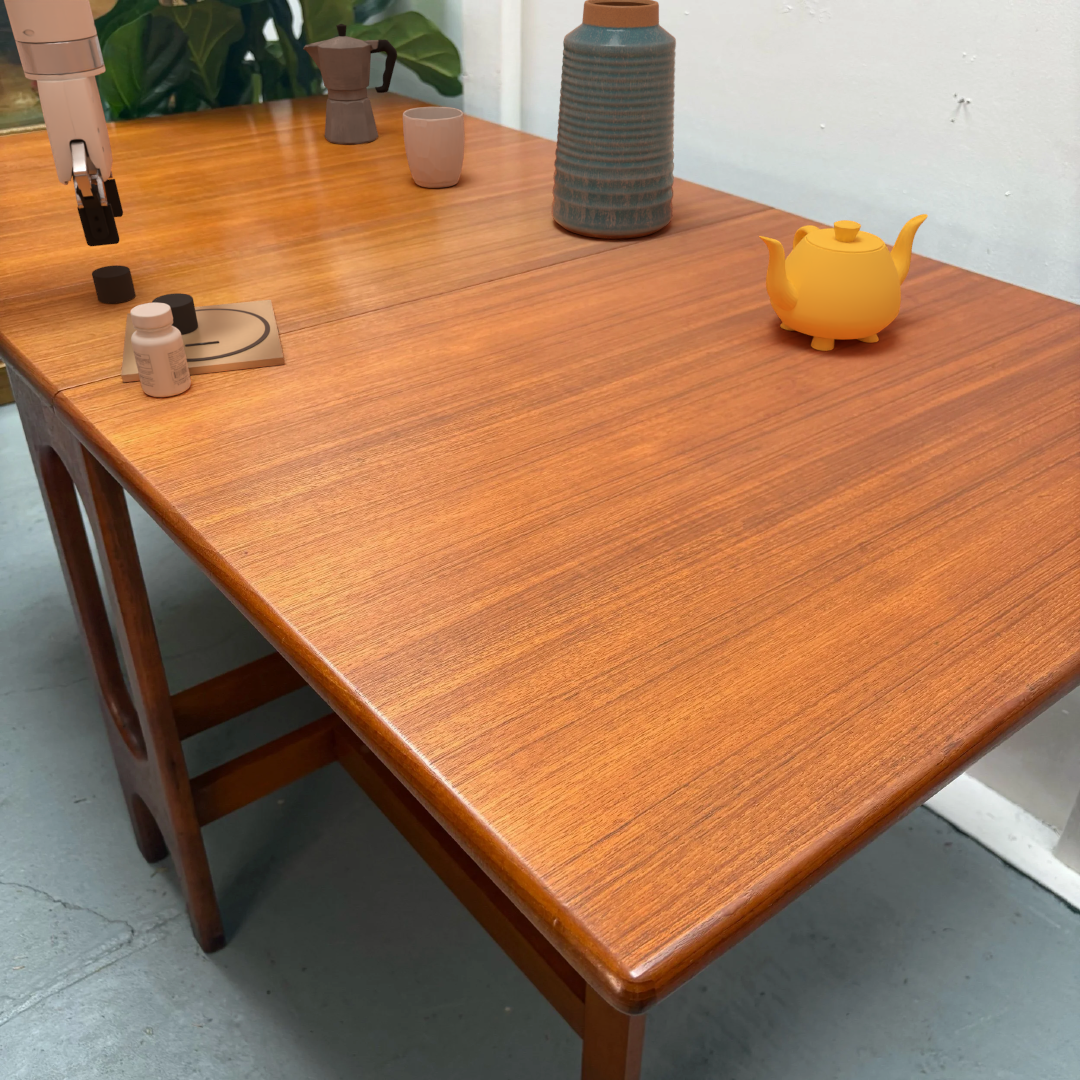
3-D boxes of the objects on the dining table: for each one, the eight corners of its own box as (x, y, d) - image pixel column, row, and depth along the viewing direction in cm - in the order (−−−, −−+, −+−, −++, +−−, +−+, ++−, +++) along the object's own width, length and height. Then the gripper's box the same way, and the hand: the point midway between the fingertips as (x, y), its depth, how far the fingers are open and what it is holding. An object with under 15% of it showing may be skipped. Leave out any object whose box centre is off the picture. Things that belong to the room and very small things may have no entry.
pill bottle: (191, 375, 97) (175, 297, 93) (192, 395, 94) (176, 315, 90) (142, 381, 96) (124, 302, 92) (142, 401, 93) (123, 320, 88)
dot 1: (97, 305, 112) (90, 279, 111) (99, 292, 115) (92, 267, 114) (135, 301, 113) (129, 275, 111) (136, 289, 116) (130, 263, 115)
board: (122, 382, 96) (120, 372, 95) (128, 320, 109) (126, 310, 108) (284, 364, 100) (283, 354, 99) (272, 306, 112) (270, 296, 112)
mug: (475, 186, 153) (473, 115, 147) (419, 193, 149) (414, 121, 144) (443, 167, 162) (440, 99, 156) (390, 173, 159) (385, 104, 153)
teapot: (857, 293, 117) (877, 191, 110) (946, 341, 105) (974, 230, 99) (705, 317, 110) (716, 210, 104) (782, 371, 99) (800, 255, 92)
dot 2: (157, 337, 103) (151, 309, 101) (158, 323, 106) (152, 295, 104) (198, 333, 104) (193, 305, 102) (198, 319, 107) (192, 291, 105)
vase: (545, 239, 132) (547, 8, 117) (557, 203, 146) (560, -8, 131) (671, 244, 131) (689, 11, 116) (672, 208, 144) (688, -5, 129)
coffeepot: (310, 145, 173) (297, 28, 163) (316, 132, 181) (303, 20, 171) (401, 144, 174) (394, 27, 164) (403, 131, 182) (395, 19, 172)
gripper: (30, 46, 107) (75, 211, 116) (10, 76, 93) (62, 260, 103) (106, 42, 108) (144, 204, 118) (96, 70, 95) (140, 251, 104)
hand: (106, 230), depth 110 cm, fingers open, 9 cm apart
